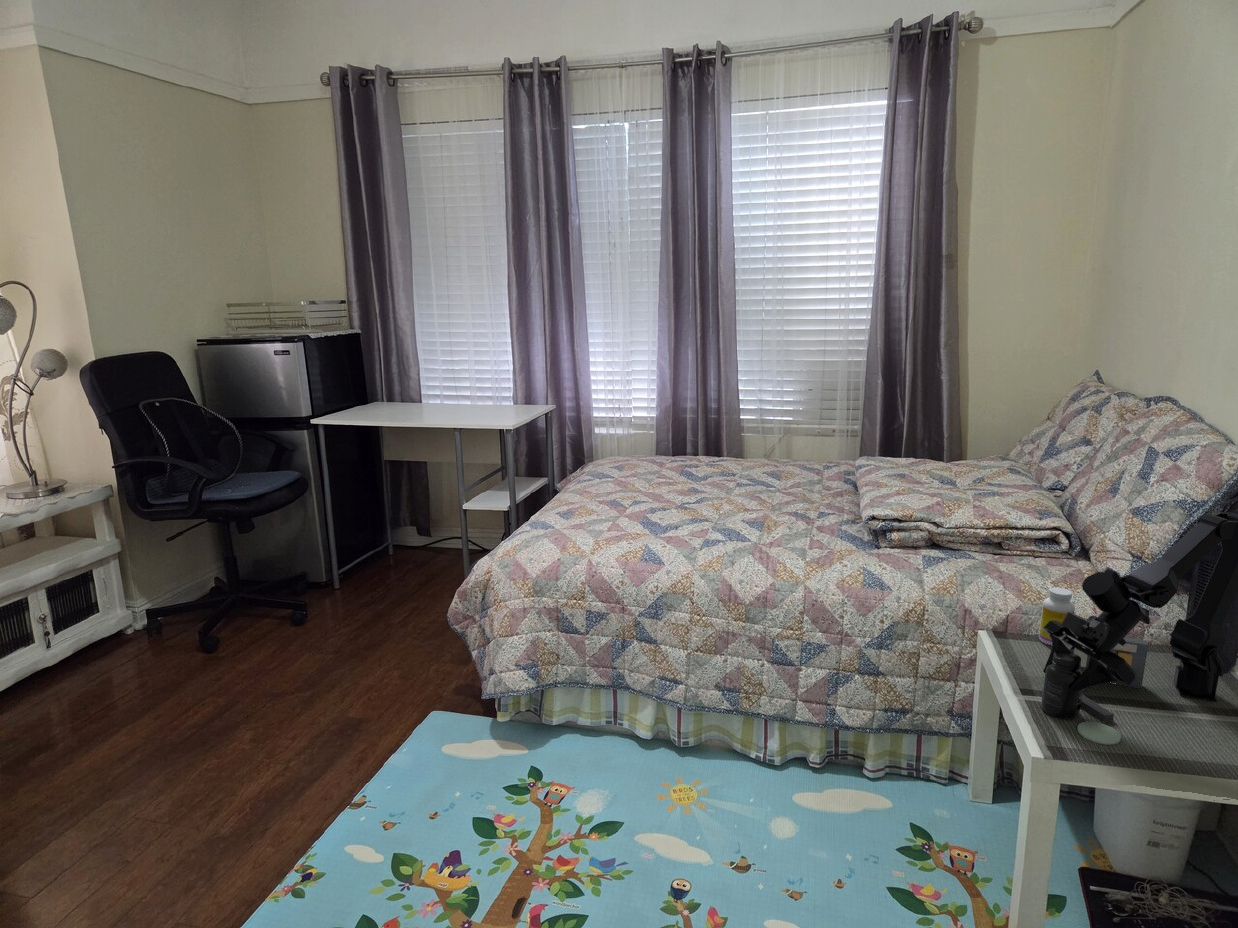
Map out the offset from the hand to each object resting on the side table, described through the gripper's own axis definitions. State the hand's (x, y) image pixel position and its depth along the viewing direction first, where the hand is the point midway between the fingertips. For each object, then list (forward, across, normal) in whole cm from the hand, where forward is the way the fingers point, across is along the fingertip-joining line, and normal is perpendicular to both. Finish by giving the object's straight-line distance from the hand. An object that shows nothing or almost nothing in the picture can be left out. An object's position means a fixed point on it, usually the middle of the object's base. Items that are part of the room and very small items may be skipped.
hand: (1057, 681), depth 159 cm
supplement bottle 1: (-11, -27, +21) cm, 36 cm away
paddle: (-8, -10, +12) cm, 18 cm away
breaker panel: (-9, -10, +18) cm, 22 cm away
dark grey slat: (0, -2, +10) cm, 11 cm away
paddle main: (-12, -5, +17) cm, 22 cm away
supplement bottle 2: (+4, 0, +6) cm, 7 cm away
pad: (+3, +9, +6) cm, 11 cm away
